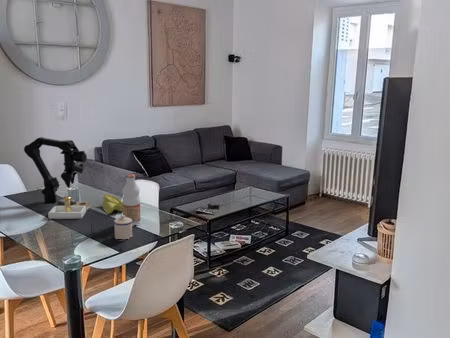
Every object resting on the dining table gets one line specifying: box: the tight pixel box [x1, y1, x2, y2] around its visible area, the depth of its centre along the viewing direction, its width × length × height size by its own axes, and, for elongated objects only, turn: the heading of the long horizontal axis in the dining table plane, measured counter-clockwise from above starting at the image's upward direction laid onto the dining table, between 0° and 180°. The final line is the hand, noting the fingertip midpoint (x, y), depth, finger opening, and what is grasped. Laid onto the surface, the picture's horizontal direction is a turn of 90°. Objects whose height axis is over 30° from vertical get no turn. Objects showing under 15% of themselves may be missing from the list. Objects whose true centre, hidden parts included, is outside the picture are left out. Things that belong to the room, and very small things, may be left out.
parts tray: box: [47, 205, 87, 220], centre depth 235 cm, size 18×12×4 cm, turn 97°
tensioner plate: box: [55, 198, 91, 212], centre depth 246 cm, size 18×8×5 cm, turn 97°
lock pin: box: [62, 195, 72, 212], centre depth 234 cm, size 4×4×10 cm
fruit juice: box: [121, 173, 141, 227], centre depth 222 cm, size 9×9×28 cm
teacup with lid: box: [113, 214, 133, 240], centre depth 206 cm, size 12×9×12 cm
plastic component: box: [101, 193, 123, 215], centre depth 248 cm, size 20×7×10 cm
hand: (70, 185), depth 252 cm, fingers open, 9 cm apart
